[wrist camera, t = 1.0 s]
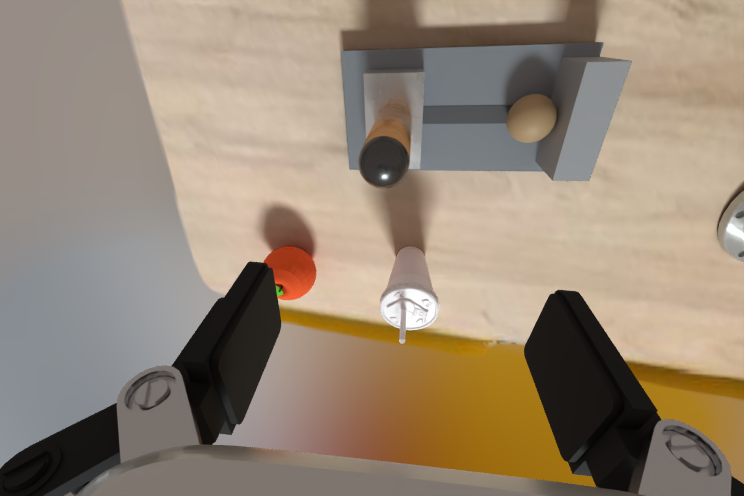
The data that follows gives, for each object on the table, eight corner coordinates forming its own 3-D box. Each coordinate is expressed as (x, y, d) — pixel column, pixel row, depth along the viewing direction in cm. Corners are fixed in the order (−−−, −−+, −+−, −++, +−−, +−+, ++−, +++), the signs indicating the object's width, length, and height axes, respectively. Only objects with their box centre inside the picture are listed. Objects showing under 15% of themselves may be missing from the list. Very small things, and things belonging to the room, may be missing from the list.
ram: (424, 68, 29) (429, 95, 16) (419, 157, 33) (421, 231, 21) (368, 69, 29) (332, 97, 17) (371, 157, 34) (344, 229, 21)
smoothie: (389, 233, 41) (378, 313, 29) (440, 241, 41) (449, 324, 29) (383, 273, 44) (371, 358, 33) (429, 280, 44) (434, 368, 33)
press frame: (595, 42, 28) (638, 44, 22) (558, 166, 34) (585, 191, 28) (344, 50, 30) (328, 54, 25) (351, 164, 36) (340, 187, 31)
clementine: (288, 286, 48) (270, 321, 42) (257, 251, 45) (232, 284, 39) (331, 266, 45) (318, 302, 39) (301, 228, 42) (282, 259, 36)
